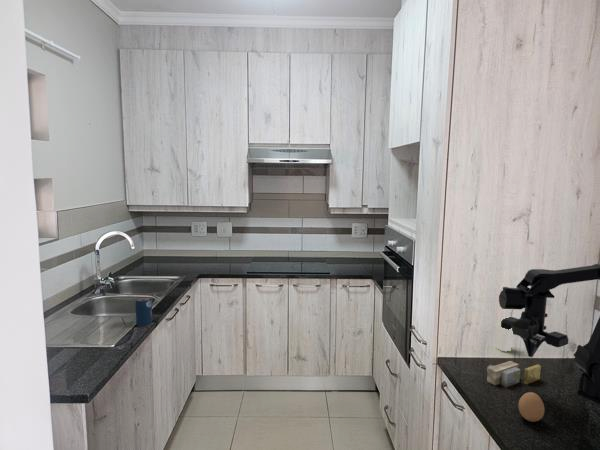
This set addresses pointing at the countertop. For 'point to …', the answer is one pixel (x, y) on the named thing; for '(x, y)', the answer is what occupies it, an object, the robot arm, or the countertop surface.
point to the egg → (531, 407)
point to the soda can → (143, 311)
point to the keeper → (532, 374)
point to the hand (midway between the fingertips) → (530, 356)
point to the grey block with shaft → (509, 376)
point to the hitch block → (499, 372)
